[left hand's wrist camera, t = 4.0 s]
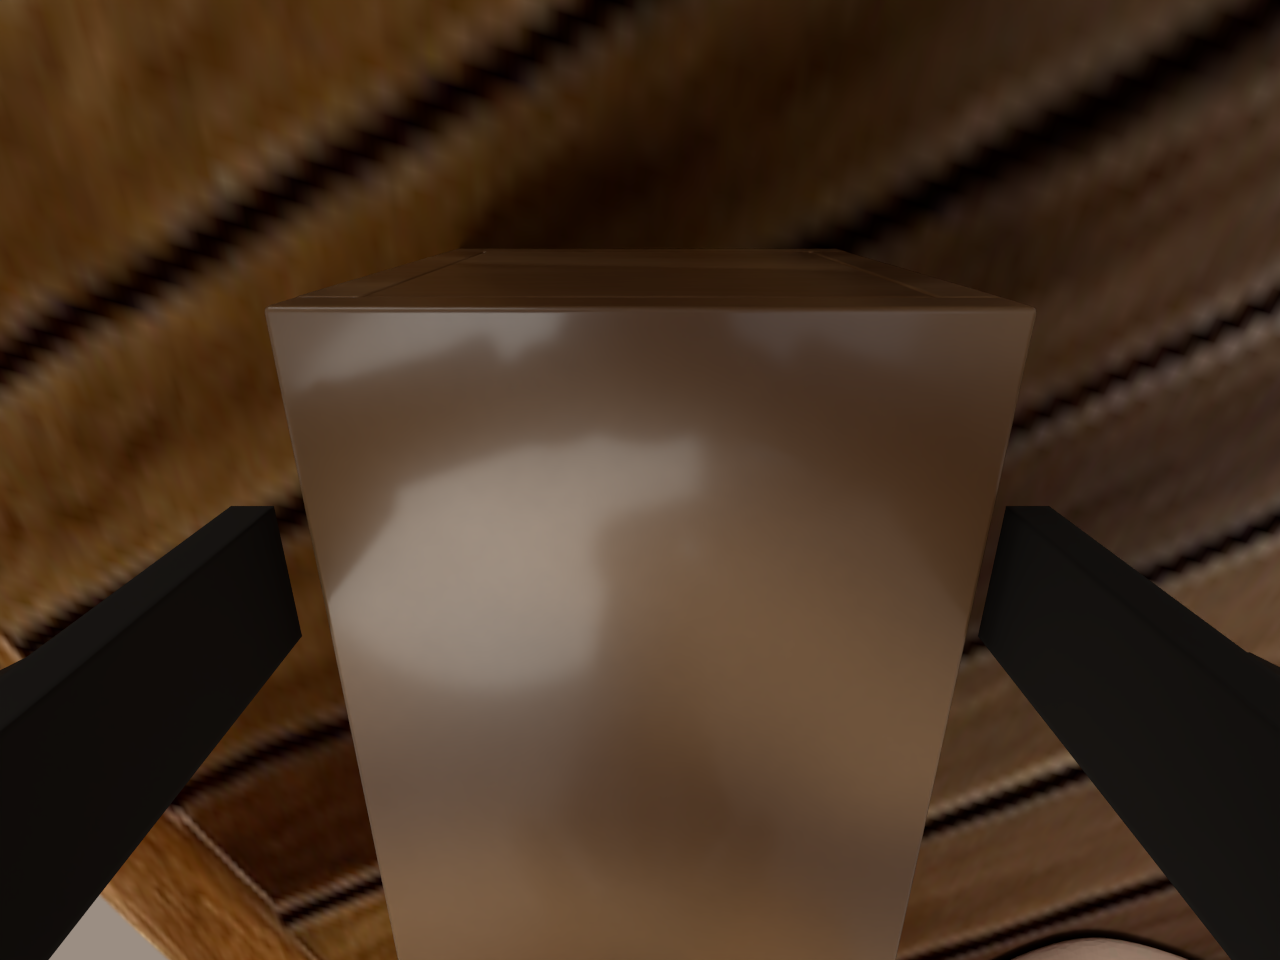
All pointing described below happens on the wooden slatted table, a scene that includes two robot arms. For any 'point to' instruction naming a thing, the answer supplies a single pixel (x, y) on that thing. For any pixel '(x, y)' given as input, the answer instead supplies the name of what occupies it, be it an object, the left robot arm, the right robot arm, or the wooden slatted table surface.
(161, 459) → the wooden slatted table surface
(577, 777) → the cabinet
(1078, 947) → the anatomical model
